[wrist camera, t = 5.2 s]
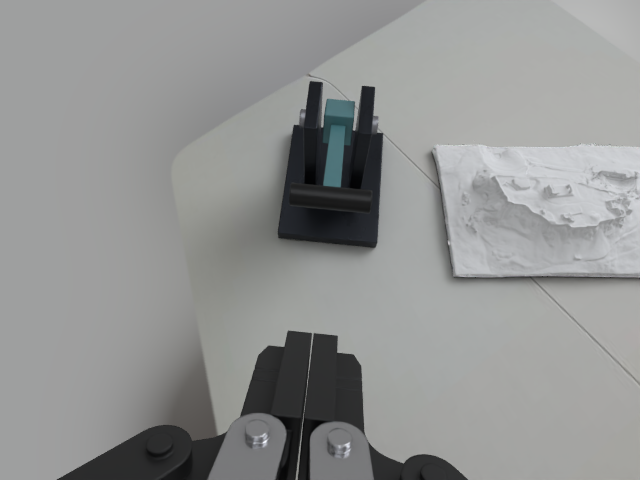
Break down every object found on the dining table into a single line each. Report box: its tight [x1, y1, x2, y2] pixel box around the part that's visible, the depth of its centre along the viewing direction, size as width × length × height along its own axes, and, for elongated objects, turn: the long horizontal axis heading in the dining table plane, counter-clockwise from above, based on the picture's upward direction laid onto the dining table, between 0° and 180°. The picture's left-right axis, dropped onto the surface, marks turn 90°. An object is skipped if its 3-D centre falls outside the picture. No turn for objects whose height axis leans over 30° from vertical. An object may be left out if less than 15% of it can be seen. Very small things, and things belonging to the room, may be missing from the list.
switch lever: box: [289, 99, 372, 214], centre depth 33 cm, size 12×5×2 cm, turn 174°
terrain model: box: [431, 140, 640, 278], centre depth 43 cm, size 17×23×5 cm
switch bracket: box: [278, 81, 383, 247], centre depth 40 cm, size 12×9×12 cm
